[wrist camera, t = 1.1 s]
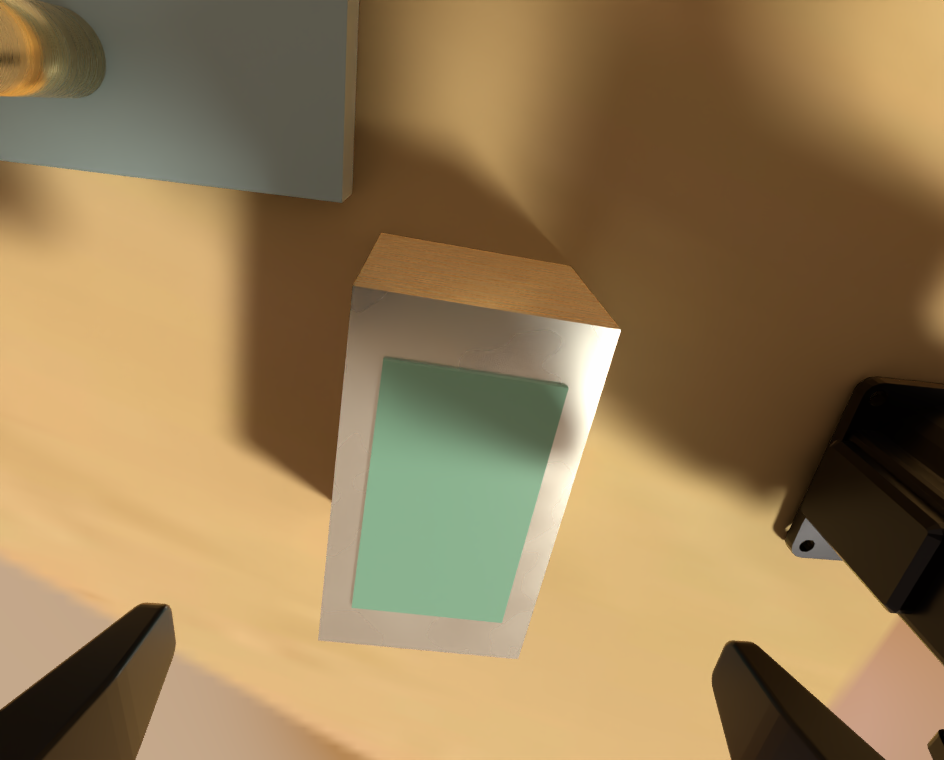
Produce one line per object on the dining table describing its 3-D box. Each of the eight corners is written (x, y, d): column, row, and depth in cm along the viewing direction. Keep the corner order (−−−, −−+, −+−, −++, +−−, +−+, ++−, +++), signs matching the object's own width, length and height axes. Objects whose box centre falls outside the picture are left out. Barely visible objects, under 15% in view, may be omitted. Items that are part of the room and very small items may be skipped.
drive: (569, 264, 15) (622, 331, 11) (501, 527, 19) (518, 662, 14) (382, 231, 15) (351, 287, 10) (350, 509, 18) (317, 643, 14)
